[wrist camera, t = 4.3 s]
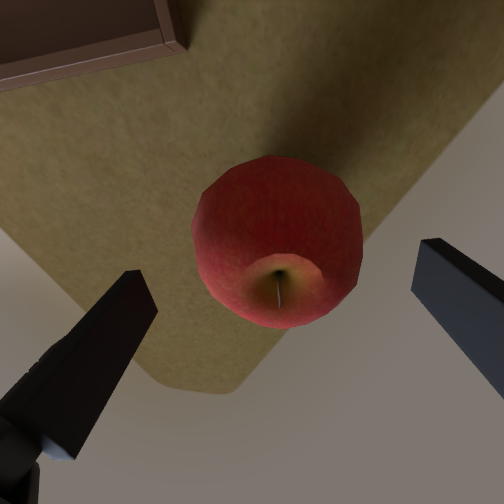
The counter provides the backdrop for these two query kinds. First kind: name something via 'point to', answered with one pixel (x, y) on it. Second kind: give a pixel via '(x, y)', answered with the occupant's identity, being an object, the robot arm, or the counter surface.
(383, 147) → the counter surface
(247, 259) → the apple
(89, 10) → the tray
